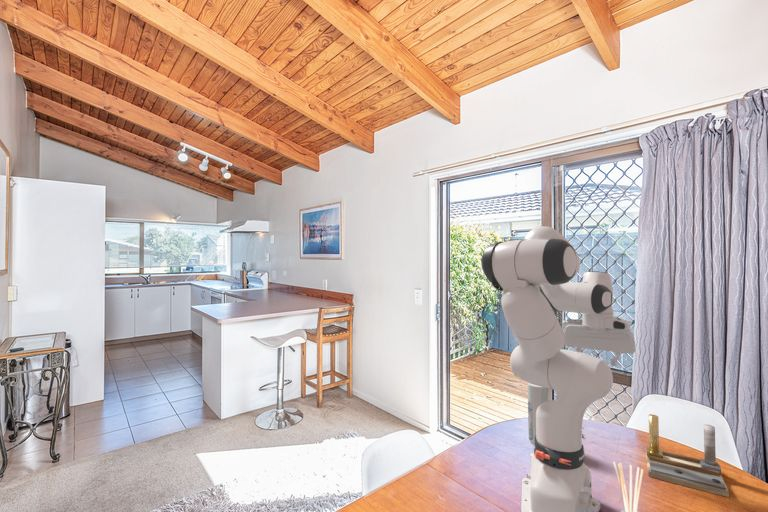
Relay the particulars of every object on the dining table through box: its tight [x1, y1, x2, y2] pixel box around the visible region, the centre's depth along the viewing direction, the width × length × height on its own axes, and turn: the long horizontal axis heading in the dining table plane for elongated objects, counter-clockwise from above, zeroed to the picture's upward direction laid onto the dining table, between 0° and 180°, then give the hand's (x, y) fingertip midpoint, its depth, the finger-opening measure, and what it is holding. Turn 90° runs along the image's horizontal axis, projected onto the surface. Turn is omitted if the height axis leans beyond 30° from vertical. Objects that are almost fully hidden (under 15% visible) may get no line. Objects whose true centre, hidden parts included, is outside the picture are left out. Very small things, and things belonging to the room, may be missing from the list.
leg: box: [645, 414, 663, 458], centre depth 111 cm, size 4×4×12 cm
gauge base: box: [645, 424, 730, 498], centre depth 105 cm, size 14×17×14 cm
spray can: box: [527, 382, 549, 446], centre depth 124 cm, size 6×6×20 cm
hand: (598, 363), depth 117 cm, fingers open, 7 cm apart
